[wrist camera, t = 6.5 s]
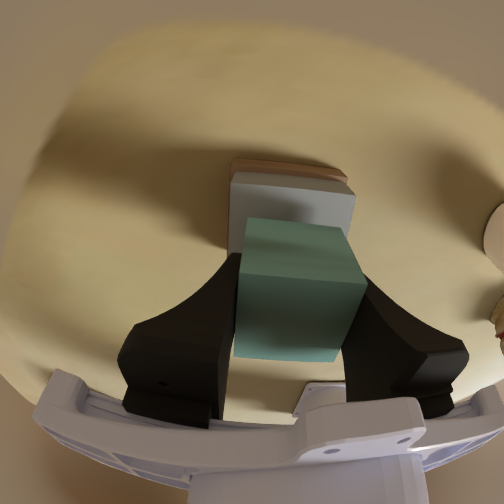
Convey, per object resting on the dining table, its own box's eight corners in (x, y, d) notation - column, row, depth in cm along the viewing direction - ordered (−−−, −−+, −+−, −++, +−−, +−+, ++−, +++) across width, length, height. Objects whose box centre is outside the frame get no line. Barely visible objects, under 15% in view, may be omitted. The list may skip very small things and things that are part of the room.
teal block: (320, 298, 15) (333, 362, 11) (241, 292, 15) (233, 356, 11) (340, 227, 13) (367, 283, 9) (247, 217, 13) (239, 272, 9)
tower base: (320, 255, 21) (326, 274, 19) (230, 247, 21) (226, 265, 19) (338, 167, 18) (347, 177, 15) (235, 156, 18) (230, 164, 15)
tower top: (325, 271, 19) (331, 294, 17) (232, 264, 19) (227, 287, 17) (344, 182, 16) (356, 195, 13) (235, 171, 16) (230, 183, 14)
